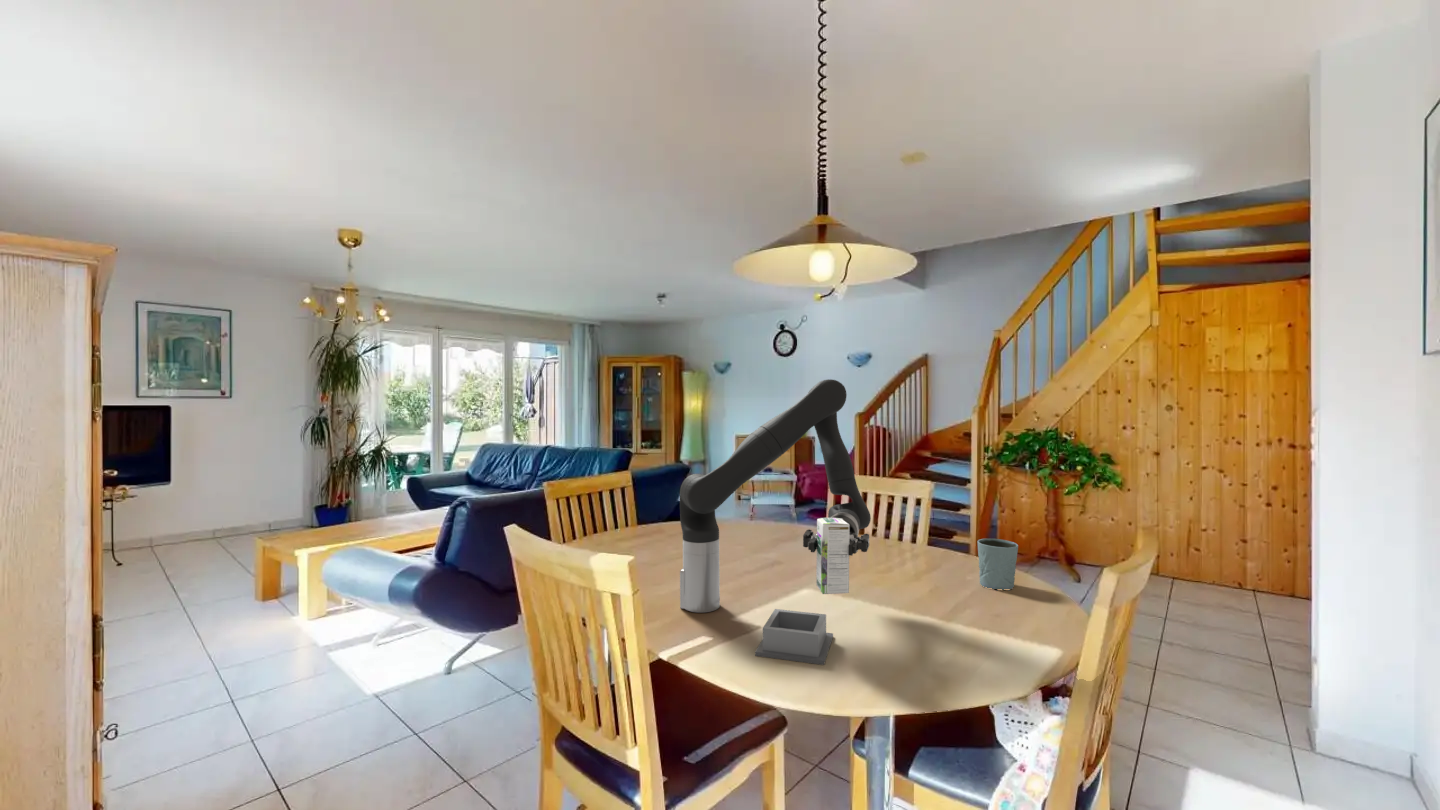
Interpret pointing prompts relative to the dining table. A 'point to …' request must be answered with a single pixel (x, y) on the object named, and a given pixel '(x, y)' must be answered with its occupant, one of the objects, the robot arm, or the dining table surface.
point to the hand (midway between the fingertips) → (831, 549)
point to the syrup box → (832, 556)
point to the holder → (795, 637)
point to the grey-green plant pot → (997, 563)
